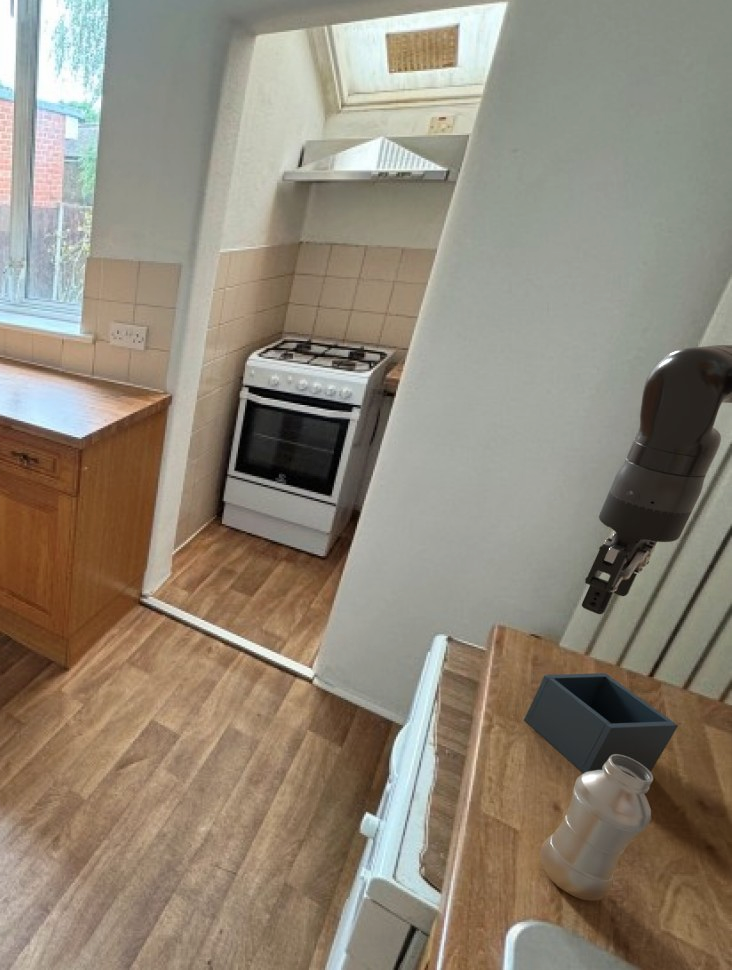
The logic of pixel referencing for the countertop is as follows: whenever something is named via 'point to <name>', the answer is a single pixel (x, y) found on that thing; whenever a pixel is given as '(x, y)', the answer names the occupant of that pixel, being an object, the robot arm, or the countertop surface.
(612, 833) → the plastic bottle
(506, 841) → the countertop surface
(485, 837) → the countertop surface
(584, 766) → the bin
